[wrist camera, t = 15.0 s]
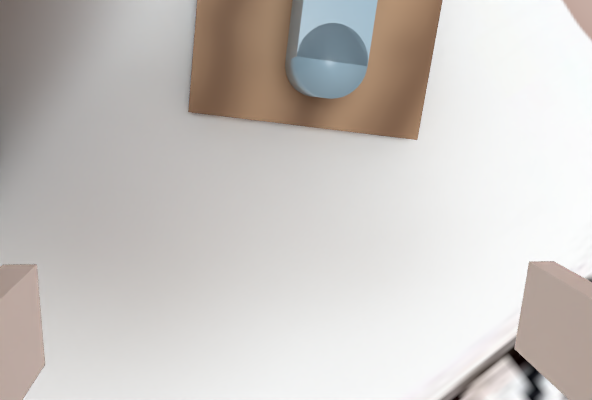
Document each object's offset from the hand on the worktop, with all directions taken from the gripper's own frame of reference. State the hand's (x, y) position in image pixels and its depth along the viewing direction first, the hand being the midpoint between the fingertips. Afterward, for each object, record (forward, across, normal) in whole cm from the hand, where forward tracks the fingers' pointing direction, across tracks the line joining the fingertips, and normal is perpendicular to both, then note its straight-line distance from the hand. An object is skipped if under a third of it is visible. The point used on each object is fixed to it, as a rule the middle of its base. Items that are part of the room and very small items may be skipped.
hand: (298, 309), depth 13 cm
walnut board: (+23, +4, +10) cm, 26 cm away
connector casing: (+21, +4, +11) cm, 24 cm away
